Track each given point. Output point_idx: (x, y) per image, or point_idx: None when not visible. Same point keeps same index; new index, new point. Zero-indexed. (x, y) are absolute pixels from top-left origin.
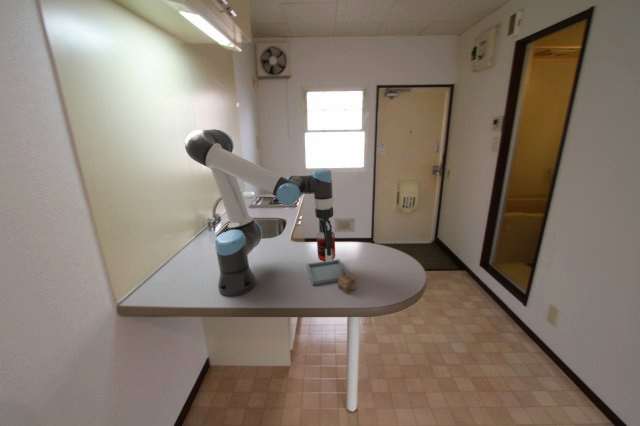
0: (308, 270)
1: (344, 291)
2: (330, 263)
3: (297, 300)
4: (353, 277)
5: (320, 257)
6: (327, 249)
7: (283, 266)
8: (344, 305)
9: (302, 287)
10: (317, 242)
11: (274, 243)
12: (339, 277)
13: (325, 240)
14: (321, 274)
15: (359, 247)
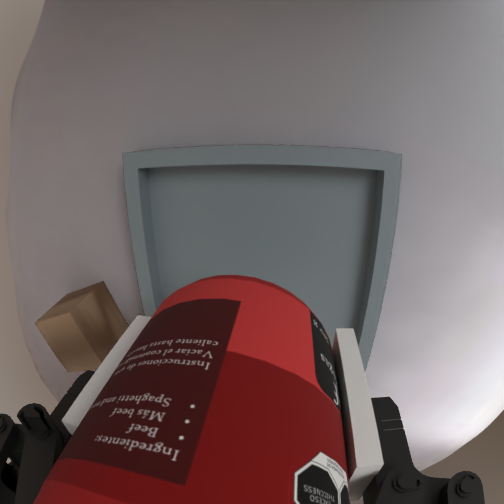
0: (300, 146)
1: (69, 294)
2: (359, 321)
3: (48, 72)
4: (75, 370)
5: (169, 299)
6: (52, 419)
7: (445, 15)
8: (15, 262)
9: (136, 87)
10: (136, 445)
11: None
12: (69, 318)
13: (16, 501)
14: (240, 230)
15: (435, 443)
